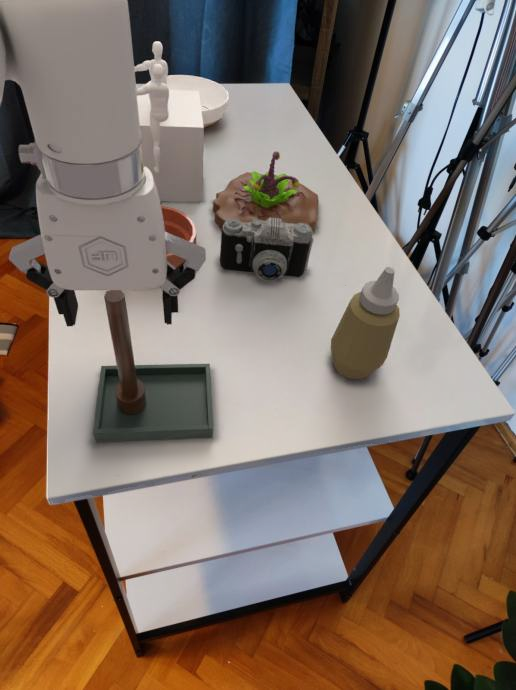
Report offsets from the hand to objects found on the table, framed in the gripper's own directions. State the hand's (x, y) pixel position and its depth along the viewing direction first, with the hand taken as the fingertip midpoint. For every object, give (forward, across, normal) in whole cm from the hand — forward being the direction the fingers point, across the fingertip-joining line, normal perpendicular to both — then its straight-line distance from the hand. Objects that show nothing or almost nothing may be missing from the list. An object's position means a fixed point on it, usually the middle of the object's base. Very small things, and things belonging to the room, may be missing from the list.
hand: (121, 315), depth 51 cm
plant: (+17, +22, +44) cm, 52 cm away
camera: (+17, +19, +26) cm, 37 cm away
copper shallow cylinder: (+17, +1, +30) cm, 34 cm away
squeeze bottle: (+17, +30, +6) cm, 36 cm away
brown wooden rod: (+16, -1, 0) cm, 16 cm away
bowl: (+17, +7, +81) cm, 83 cm away
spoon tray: (+17, +2, 0) cm, 17 cm away
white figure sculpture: (+17, +2, +52) cm, 55 cm away
